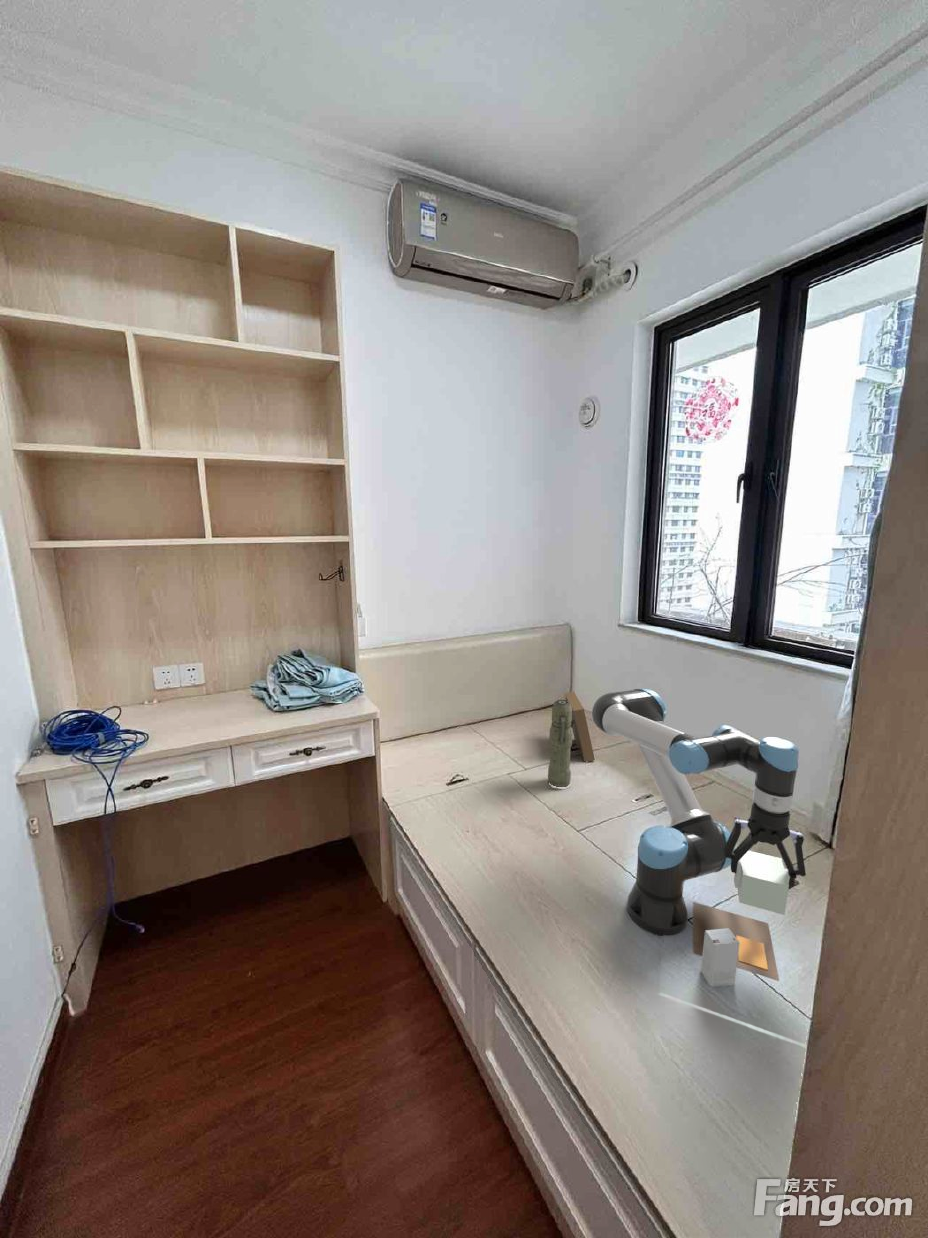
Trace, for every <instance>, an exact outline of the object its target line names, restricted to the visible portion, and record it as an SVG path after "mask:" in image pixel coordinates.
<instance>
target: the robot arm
mask: <svg viewBox="0 0 928 1238" xmlns="http://www.w3.org/2000/svg"><path fill="white" fill-rule="evenodd" d="M666 710H667V708H666V705H665V701H664V700H663V699H662V697H661V696H660V695H659V694H658V693H657V692H655V691H654V690H652V689H649V688H635V689H631V690H624V691H616V692H608V693H605V694H603V695H601V696H600V697H598V699H596V701H595V702H594V704H593V707H592V711H591V713H592V714H591V715H592V720H593V722H594V724H595V725H596V726H597V728H598V729H599V730H600V731H602V732H604V733H605V734H607V735H609V736H612V737H618V736H620V737H622V738H624V739H627V740H628V741H631V742H632V743H635V744H637V746H638V748H639V750H640V752H641V754H642V757H643V758H644V762H645V763H646V765H647V766H646V767H648V770H649V772H650V775H651V776H652V779H653V781H654V784H655V785H656V788H657V789H658V792H659V794H660V796H661V799H662V801H663V803H664V805H665V808H666V810H667V813H668V815H669V817H670V819H671V820H670V823H669V826H666V827H665V826H664V825H654V826H650V827H648V828H646V829H645V830H644V831H643V832H642V834H641V835H640V838H639V842H638V845H637V864H636V865H637V866H636V875H635V877H636V878H635V882H634V885H633V886H632V888H631V890H630V892H629V894H628V897H627V904H626V908H627V912H628V915H629V917H630V918H631V920H632V922H634V923H635V924H636V925H637V926H638V927H640V928H641V929H643V930H644V931H646V932H648V933H651V934H653V935H656V936H662V937H664V936H675V935H678V934H681V933H683V931H685V929H686V928H687V925H688V918H689V917H688V910H687V906H686V903H685V900H684V899H685V898H684V895H683V891H684V883H685V882H686V881H689V880H691V879H695V878H700V877H702V876H705V875H710V874H714V873H717V872H721V871H722V870H725V869H727V868H729V867H730V871H731V873H734V878H733V882H734V888H736V889H738V887H739V880H740V872H741V858H742V857H743V856H744V855H745V854H746V853H747V852H748V851H750V850H751V849H752V847H753V846H754V845H757V844H758V843H764V844H765V843H767V844H768V845H772V846H775V845H776V847H777V849H778V851H779V853H780V856H781V857H782V861H783V862H784V864H785V867H784V870H785V873H786V877H787V881H788V885H789V888H792V889H793V887H794V886H795V880H796V879H797V876H801V877H806V875H807V874H806V866H805V858H804V854H803V853H804V851H803V844H804V841H805V838H804V835H803V833H802V831H801V830H792V829H790V828H789V825H790V818H791V810H792V803H793V797H794V788H795V782H796V777H797V772H798V769H799V753H800V752H799V751H800V750H799V748H798V746H797V745H795V744H794V743H793V742H792V741H789V740H787V739H783V738H780V737H778V736H777V737H776V736H775V737H774V736H767V737H764V738H762V739H759V738H757V737H755V736H753V735H750V734H749V733H747V732H744V731H743V730H742V729H740V728H739V729H738V728H735V727H733V726H731V725H725V724H724V725H721V726H719V727H718V729H715V730H714V731H713V732H712V734H711V735H709V736H703V737H697V736H693V735H691V734H688V733H686V732H682V731H680V730H677V729H675V728H673V727H670V726H668V725H666V722H665V719H666V717H667V712H666ZM736 765H739V766H740V767H743V768H744V769H746V770H748V771H749V772H753V773H754V775H755V779H754V787H753V792H752V793H753V794H752V802H751V808H750V810H751V811H750V816H749V818H748V819H747V820H743V819H740V817H737V816H736V817H734V819H733V821H734V826H733V828H732V830H731V832H730V831H729V830H728V829H727V827H725V826H723V824H722V823H721V822H718V821H717V822H716V821H715V820H713V817H712V816H711V813H709V812H707V811H704V810H703V809H702V808H701V806H700V804H699V802H698V800H697V798H696V796H695V793H694V792H693V789H692V787H691V786H690V784H689V781H688V779H687V777H686V775H694V774H696V775H698V774H700V773H704V772H708V771H712V770H716V769H722V768H727V767H733V766H736ZM745 828H748V829H749V832H748V835H747V836H746V837H744V839H743V840H742V841H741V842H740V844H738V845H737V843H738V841H739V838H740V837H741V833H742V831H744V830H745ZM788 837H790V839H791V841H792V842H793V846H794V853H795V859H796V866H795V865H793V862H792V860H791V858H790V855H789V854H788V851H787V849H786V847H785V845H784V842H783V841H785V839H787V838H788ZM736 845H737V847H736ZM735 847H736V848H735Z"/></svg>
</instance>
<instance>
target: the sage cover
mask: <svg viewBox="0 0 928 1238" xmlns="http://www.w3.org/2000/svg"><path fill="white" fill-rule="evenodd" d="M783 862H784V861H783V858H781V857H777V856H773V855H768V854H764V853H762V852H761V853H760V852H756V851H752V850H749V851H748V852H747V853H746V854H745V855H744V856H743V857H742V858H741V872H740V880H739V887H738V888H737V894H738V903H739V904H740V903H741V904H744V905H746V906H751V907H753V908H754V907H755V908H758V909H762V910H765V911H768V912H773V913H776V914H780V915H783V916H784V915H785V914H786V907H787V900H788V895H789V889H790V887H789V885H788V881H787V877H786V873H785V870H784V868H785V866H784V863H783Z"/></svg>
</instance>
